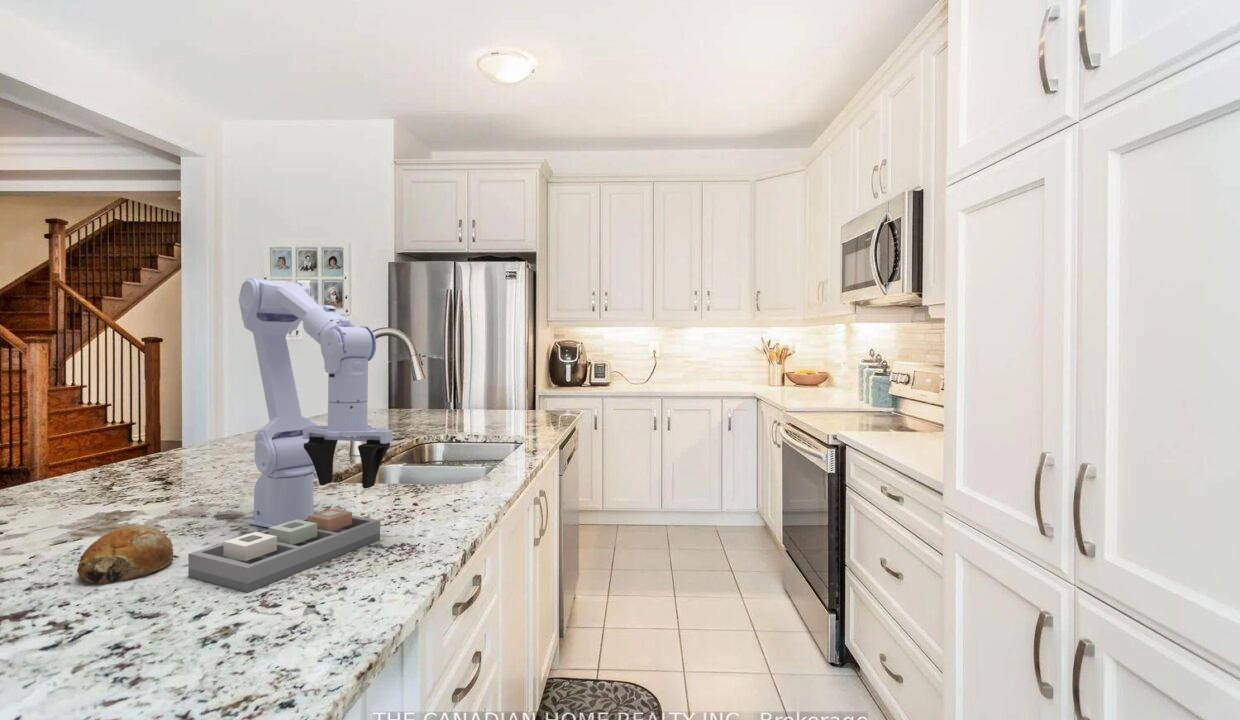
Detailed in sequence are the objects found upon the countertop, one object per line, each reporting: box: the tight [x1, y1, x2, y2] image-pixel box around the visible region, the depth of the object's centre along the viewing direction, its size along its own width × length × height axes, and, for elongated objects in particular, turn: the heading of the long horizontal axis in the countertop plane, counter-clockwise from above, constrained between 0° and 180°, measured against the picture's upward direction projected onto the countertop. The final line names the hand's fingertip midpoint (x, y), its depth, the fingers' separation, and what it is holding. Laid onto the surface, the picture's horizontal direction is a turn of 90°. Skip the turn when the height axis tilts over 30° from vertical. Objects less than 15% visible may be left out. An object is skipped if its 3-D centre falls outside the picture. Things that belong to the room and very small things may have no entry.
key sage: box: [268, 519, 317, 545], centre depth 84 cm, size 4×4×2 cm
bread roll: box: [76, 524, 175, 585], centre depth 79 cm, size 10×10×8 cm
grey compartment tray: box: [187, 514, 381, 593], centre depth 84 cm, size 12×22×3 cm, turn 158°
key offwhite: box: [223, 531, 277, 561], centre depth 78 cm, size 4×4×2 cm
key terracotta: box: [308, 508, 353, 531], centre depth 90 cm, size 4×4×2 cm
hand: (347, 485), depth 90 cm, fingers open, 7 cm apart
